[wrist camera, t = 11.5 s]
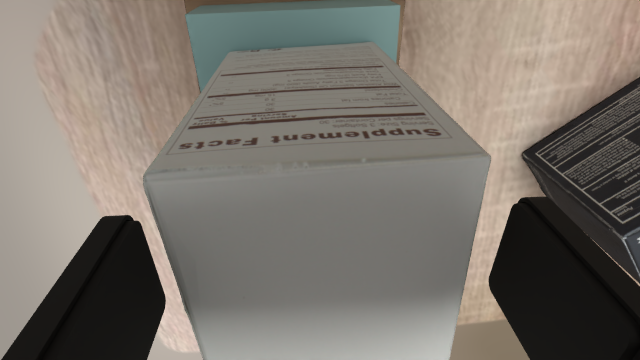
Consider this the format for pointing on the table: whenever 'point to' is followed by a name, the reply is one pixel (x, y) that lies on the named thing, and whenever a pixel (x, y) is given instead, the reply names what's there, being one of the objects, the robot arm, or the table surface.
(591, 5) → the table surface
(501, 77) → the table surface
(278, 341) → the supplement box
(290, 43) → the tower top
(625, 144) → the small box
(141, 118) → the table surface
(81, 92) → the table surface
